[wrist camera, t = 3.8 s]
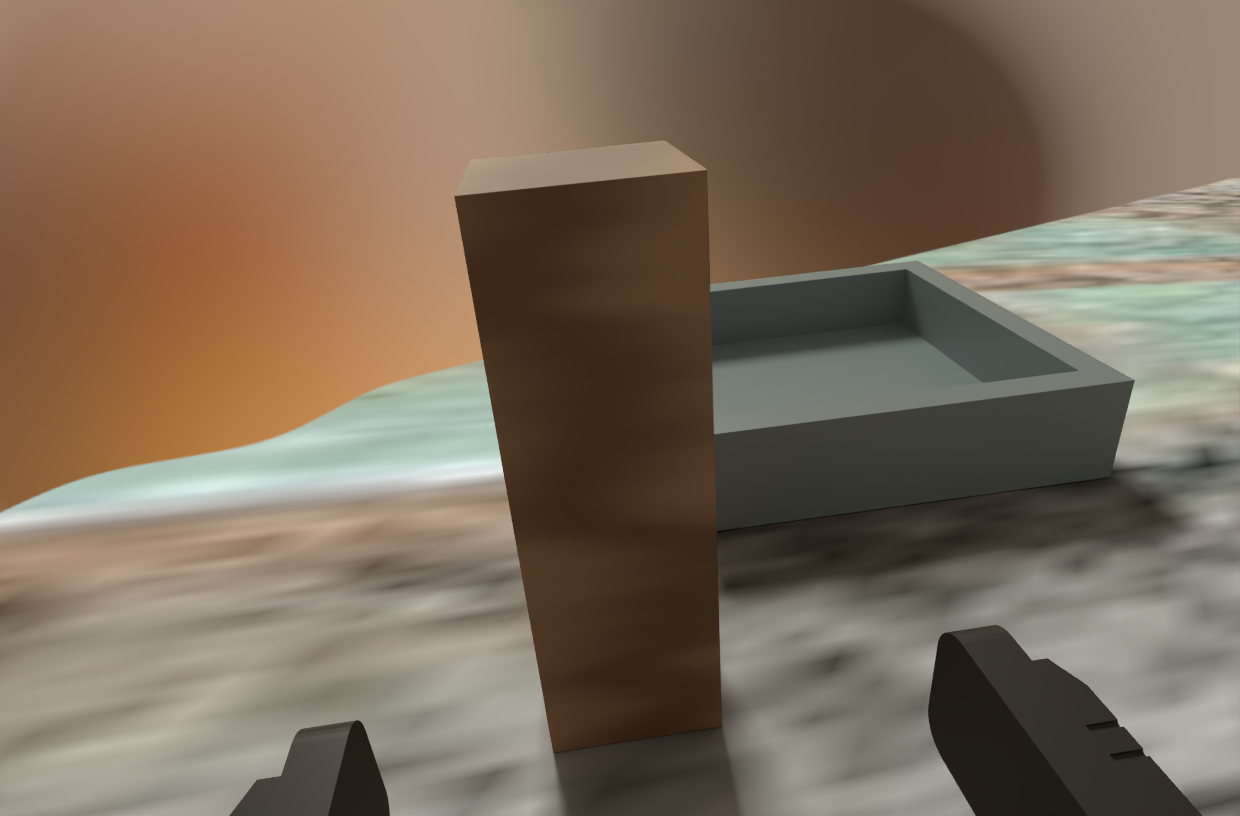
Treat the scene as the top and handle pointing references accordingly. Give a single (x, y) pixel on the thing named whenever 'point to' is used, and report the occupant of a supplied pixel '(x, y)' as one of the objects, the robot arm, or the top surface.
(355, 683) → the top surface
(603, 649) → the walnut block
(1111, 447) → the slate tray
